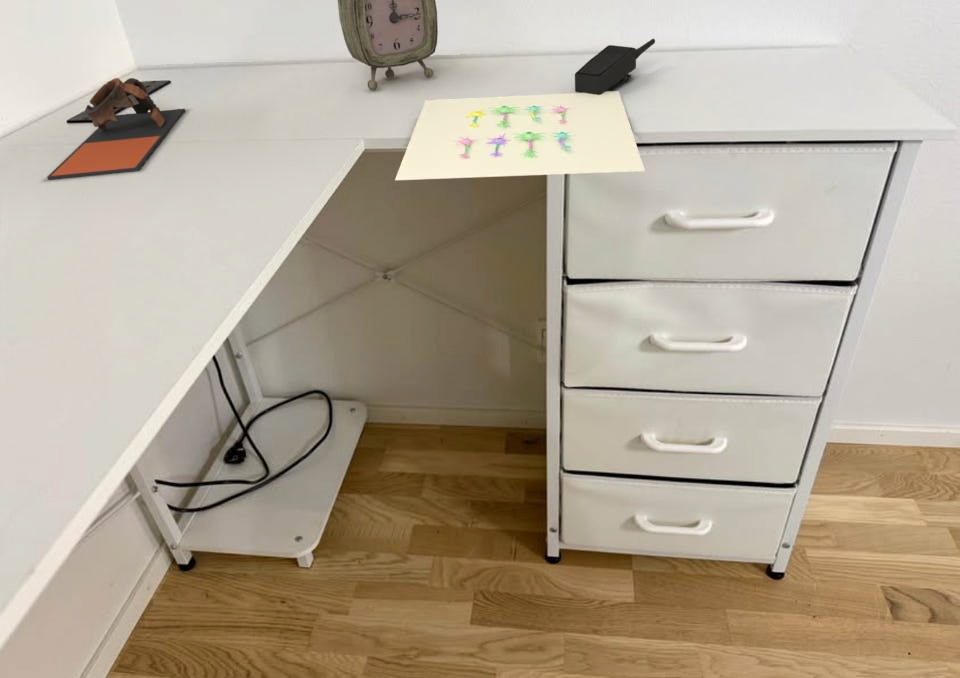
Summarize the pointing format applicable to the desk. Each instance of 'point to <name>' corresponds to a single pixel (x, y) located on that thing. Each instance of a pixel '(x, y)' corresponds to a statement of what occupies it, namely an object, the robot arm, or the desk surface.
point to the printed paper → (521, 137)
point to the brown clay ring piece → (121, 102)
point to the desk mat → (118, 146)
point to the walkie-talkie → (608, 69)
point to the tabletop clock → (389, 33)
